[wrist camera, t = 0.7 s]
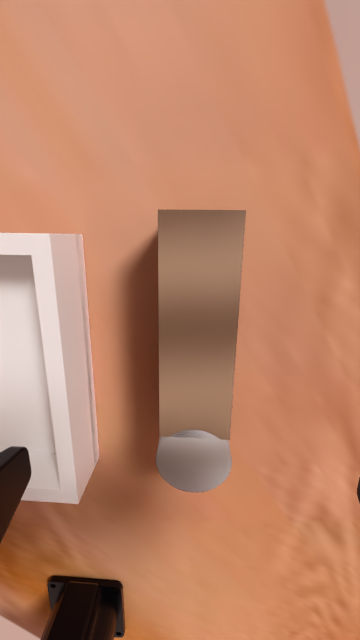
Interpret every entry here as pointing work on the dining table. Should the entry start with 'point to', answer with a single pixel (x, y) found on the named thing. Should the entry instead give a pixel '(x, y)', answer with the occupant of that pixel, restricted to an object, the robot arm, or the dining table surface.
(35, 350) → the bin
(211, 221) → the strut
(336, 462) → the dining table surface
